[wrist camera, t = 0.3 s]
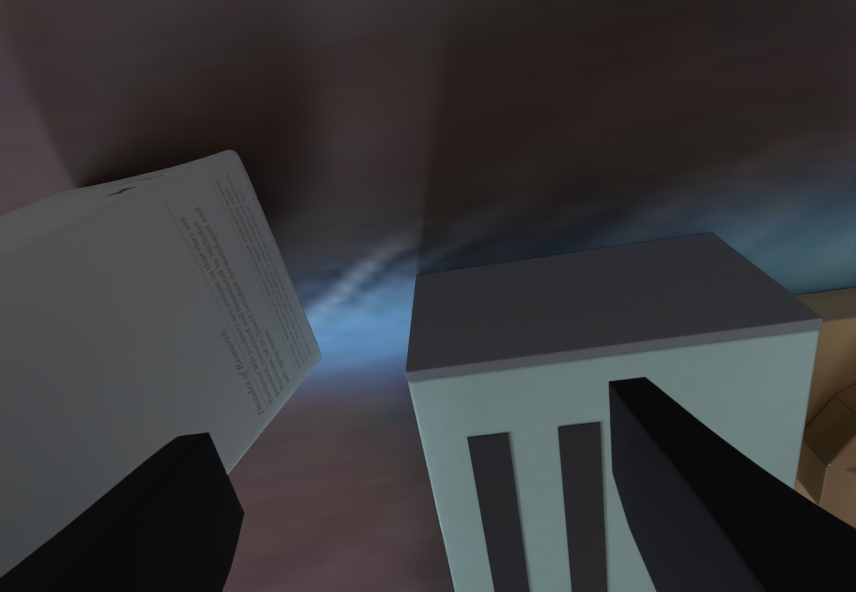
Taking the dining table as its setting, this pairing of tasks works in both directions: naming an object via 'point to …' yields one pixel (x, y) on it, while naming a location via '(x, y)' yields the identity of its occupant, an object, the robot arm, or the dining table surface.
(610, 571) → the toaster
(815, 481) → the push button base
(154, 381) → the white packaging box
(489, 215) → the dining table surface
